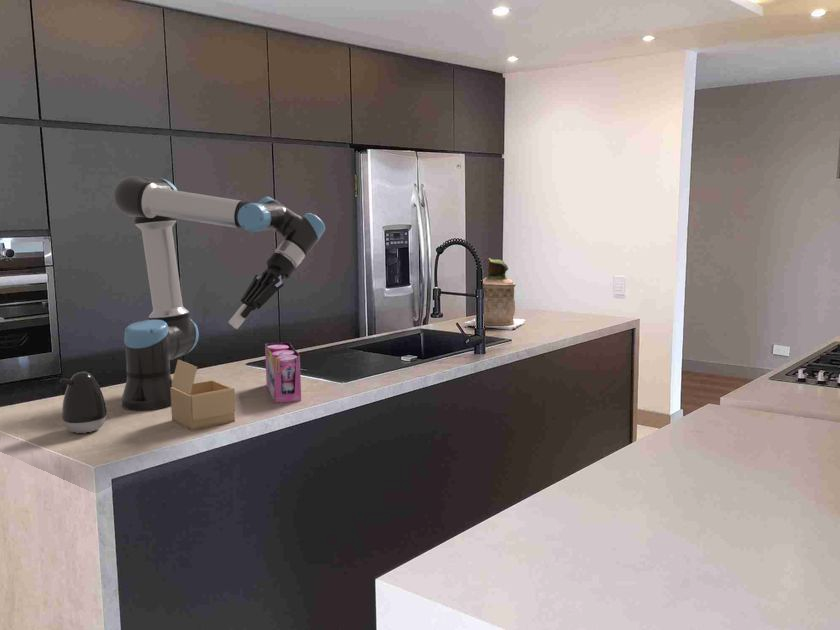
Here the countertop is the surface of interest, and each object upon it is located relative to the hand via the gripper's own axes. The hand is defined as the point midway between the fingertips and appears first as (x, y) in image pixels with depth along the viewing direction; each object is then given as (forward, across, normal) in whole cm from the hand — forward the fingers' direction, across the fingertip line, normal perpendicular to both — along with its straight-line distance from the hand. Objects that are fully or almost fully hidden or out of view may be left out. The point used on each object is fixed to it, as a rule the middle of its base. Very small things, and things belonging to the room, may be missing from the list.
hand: (232, 325), depth 192 cm
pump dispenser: (+43, +12, +8) cm, 45 cm away
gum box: (+2, +11, -33) cm, 35 cm away
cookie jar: (-97, +53, -133) cm, 173 cm away
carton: (+24, 0, -11) cm, 26 cm away
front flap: (+18, 0, +2) cm, 18 cm away
